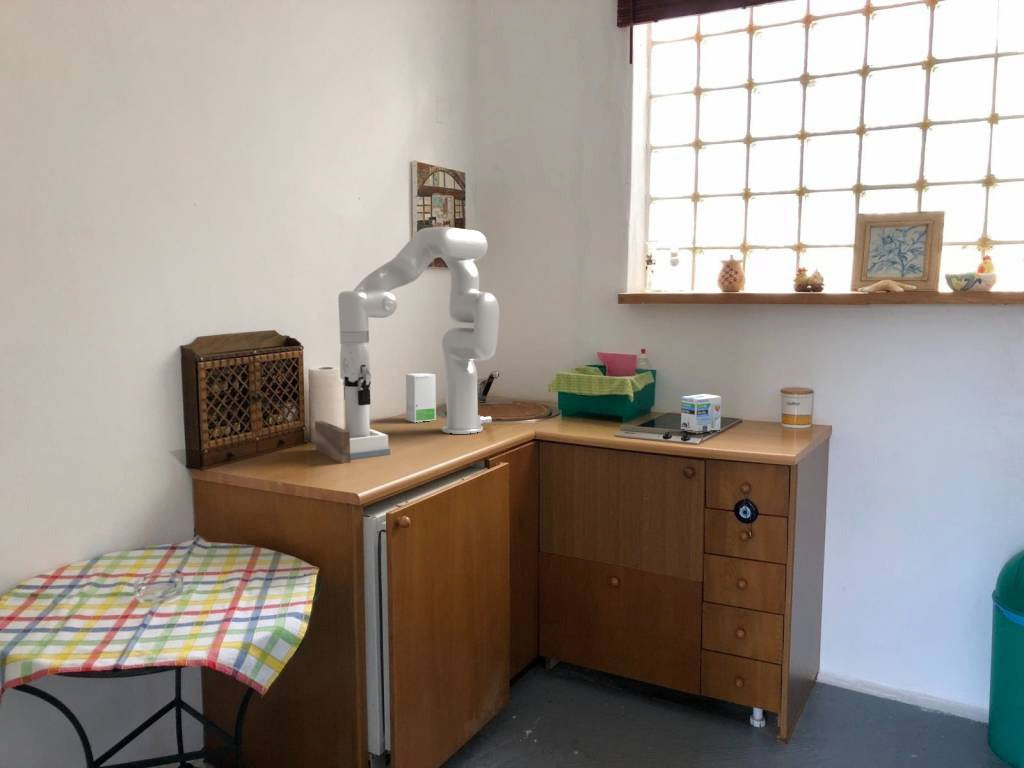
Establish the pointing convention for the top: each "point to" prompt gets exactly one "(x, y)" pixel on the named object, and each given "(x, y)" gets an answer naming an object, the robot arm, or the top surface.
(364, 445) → the socket block
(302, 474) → the top surface
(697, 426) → the light bulb box
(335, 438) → the wall
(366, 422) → the travel mug
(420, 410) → the skincare box
